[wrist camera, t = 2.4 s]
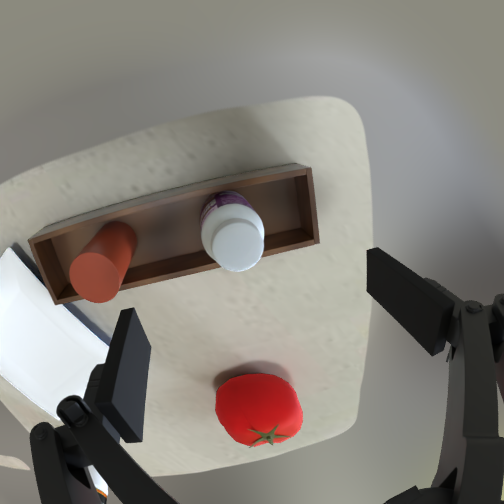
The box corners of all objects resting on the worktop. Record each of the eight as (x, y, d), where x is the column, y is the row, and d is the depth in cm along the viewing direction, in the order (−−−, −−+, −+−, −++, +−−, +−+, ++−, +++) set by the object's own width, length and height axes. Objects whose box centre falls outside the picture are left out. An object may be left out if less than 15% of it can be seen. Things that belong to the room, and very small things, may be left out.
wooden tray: (296, 163, 31) (311, 167, 27) (305, 230, 34) (320, 243, 30) (44, 227, 28) (27, 240, 24) (67, 287, 31) (54, 305, 27)
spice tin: (110, 212, 29) (83, 241, 21) (145, 237, 31) (130, 273, 22) (90, 245, 30) (61, 283, 21) (123, 268, 31) (105, 312, 23)
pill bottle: (201, 188, 30) (205, 210, 21) (252, 191, 31) (277, 214, 22) (197, 238, 32) (200, 279, 23) (247, 240, 33) (268, 280, 24)
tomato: (229, 350, 39) (241, 408, 29) (305, 368, 43) (330, 418, 33) (199, 400, 41) (205, 455, 32) (270, 413, 46) (286, 461, 36)
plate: (61, 413, 38) (58, 422, 37) (-35, 327, 29) (-41, 334, 28) (138, 359, 37) (136, 369, 35) (15, 240, 28) (7, 246, 26)
